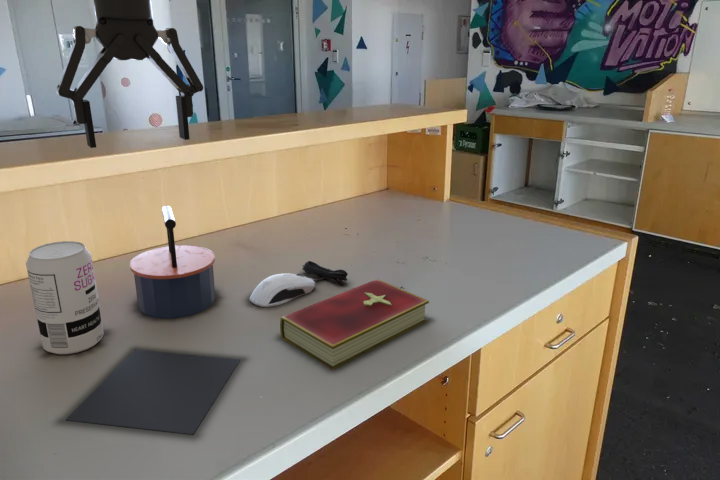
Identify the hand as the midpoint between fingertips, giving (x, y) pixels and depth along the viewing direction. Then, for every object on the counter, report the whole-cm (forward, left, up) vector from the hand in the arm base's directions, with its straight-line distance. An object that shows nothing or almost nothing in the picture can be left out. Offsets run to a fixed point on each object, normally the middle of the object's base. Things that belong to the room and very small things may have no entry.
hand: (140, 142), depth 84 cm
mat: (+11, -22, -28) cm, 37 cm away
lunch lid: (+2, +2, -21) cm, 21 cm away
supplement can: (-7, -13, -28) cm, 32 cm away
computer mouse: (+21, +10, -28) cm, 37 cm away
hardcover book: (+34, -2, -28) cm, 44 cm away
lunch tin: (+2, +2, -28) cm, 28 cm away
